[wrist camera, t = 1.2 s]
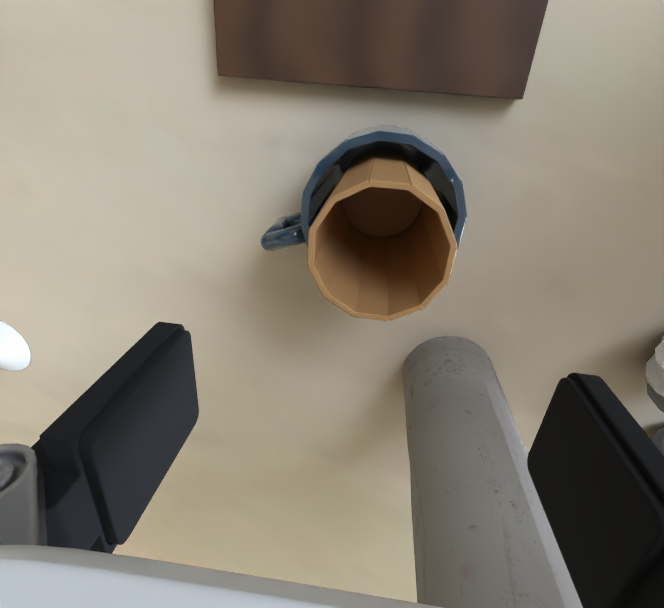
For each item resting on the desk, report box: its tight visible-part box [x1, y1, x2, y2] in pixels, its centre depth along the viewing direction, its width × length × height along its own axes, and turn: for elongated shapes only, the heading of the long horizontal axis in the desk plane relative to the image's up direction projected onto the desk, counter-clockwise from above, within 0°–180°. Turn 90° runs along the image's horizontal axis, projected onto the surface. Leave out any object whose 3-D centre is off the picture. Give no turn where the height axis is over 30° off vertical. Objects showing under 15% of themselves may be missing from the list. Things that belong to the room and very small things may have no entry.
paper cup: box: [307, 148, 457, 321], centre depth 24 cm, size 7×7×13 cm
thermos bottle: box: [403, 337, 583, 608], centre depth 24 cm, size 8×8×28 cm
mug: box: [261, 125, 467, 251], centre depth 27 cm, size 13×10×8 cm
